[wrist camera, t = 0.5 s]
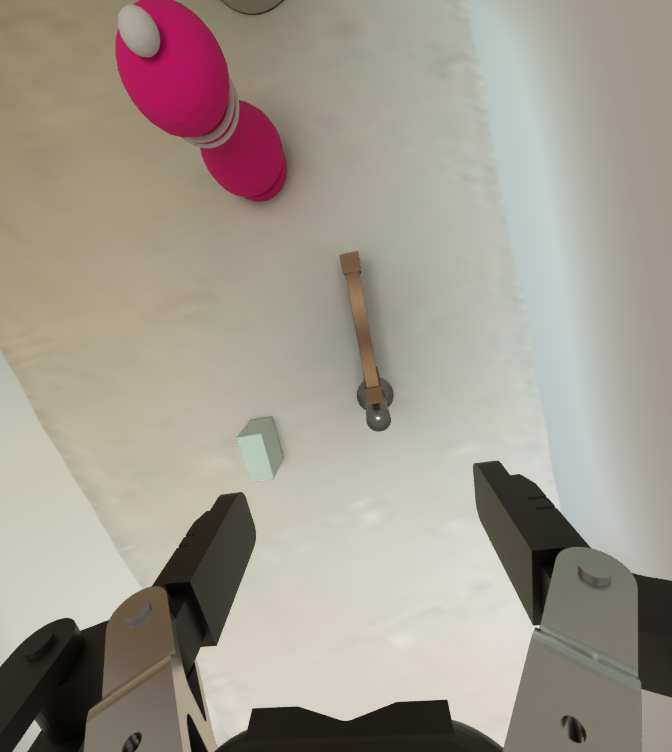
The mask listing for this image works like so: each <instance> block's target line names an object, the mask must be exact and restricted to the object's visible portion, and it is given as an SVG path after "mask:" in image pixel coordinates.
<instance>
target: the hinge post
mask: <svg viewBox="0 0 672 752" xmlns="http://www.w3.org/2000/svg"><path fill="white" fill-rule="evenodd" d="M379 379H380V384H381V389H382V394H383V400H384V402H382V403H376V404H370V405H367V400H366V394H365V387H364V382H362V383H361V385H360V386H359V388H358V391H357V399H358V402H359V404H360V406H361V407H362V408H363V409H365V410H366V418H367V424H368V426H369V427H370V428H371V429H372V430H374V431H383V430H385V429H387V428H388V427H389V425H390V423H391V418H390V414H389V409H388V407H389V406H390V405H391V403H392V400H393V390H392V388H391V386H390V384H389V383H388V382H387V381H385V380H384V379H381V378H379Z"/></svg>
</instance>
